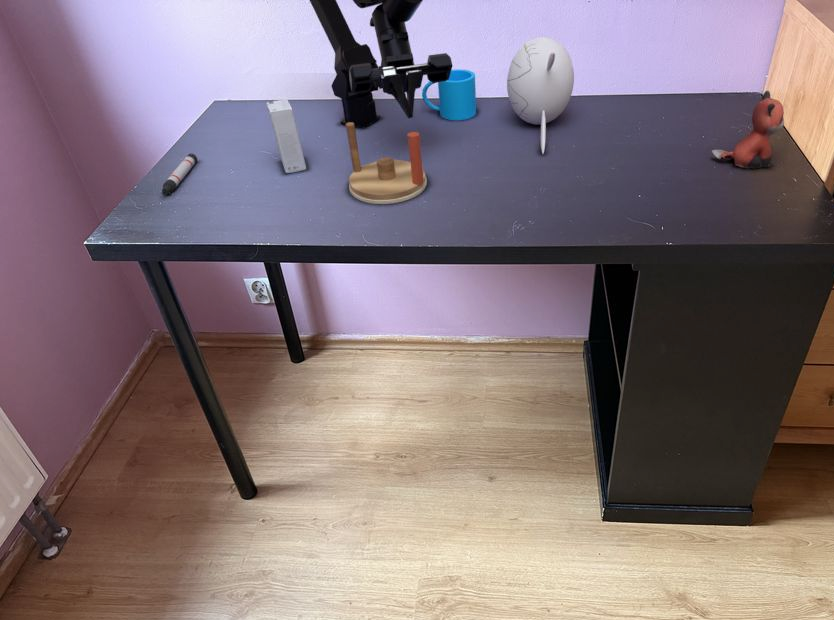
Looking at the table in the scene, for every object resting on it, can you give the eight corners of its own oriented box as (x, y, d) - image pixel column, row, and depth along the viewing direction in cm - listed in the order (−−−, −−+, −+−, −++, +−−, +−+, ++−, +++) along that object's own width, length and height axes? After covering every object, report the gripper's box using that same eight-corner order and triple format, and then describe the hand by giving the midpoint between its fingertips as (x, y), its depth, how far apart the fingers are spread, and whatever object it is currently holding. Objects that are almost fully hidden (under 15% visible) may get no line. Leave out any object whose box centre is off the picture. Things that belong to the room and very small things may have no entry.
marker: (189, 162, 133) (186, 153, 132) (198, 162, 133) (195, 153, 132) (159, 199, 122) (155, 189, 121) (169, 199, 122) (166, 189, 121)
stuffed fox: (706, 153, 127) (719, 90, 119) (765, 152, 127) (782, 88, 119) (716, 171, 121) (730, 106, 114) (778, 169, 121) (797, 104, 113)
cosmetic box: (307, 170, 129) (294, 108, 121) (284, 174, 128) (269, 112, 120) (302, 157, 133) (289, 97, 125) (280, 161, 132) (265, 101, 124)
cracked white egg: (509, 29, 140) (511, 48, 119) (574, 32, 140) (587, 52, 119) (503, 120, 150) (503, 153, 129) (563, 123, 150) (573, 157, 129)
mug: (478, 106, 150) (477, 69, 145) (473, 120, 144) (472, 82, 139) (426, 105, 152) (423, 69, 146) (420, 119, 146) (416, 82, 140)
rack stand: (333, 194, 121) (333, 191, 120) (378, 162, 130) (378, 159, 129) (399, 210, 115) (398, 207, 115) (441, 176, 124) (441, 173, 124)
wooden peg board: (343, 172, 125) (334, 121, 119) (413, 159, 129) (408, 108, 122) (358, 205, 115) (350, 151, 109) (435, 190, 118) (430, 136, 112)
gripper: (435, 53, 132) (452, 128, 131) (343, 65, 128) (359, 142, 128) (443, 21, 121) (461, 102, 120) (342, 33, 117) (360, 117, 117)
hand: (410, 117), depth 121 cm, fingers closed
